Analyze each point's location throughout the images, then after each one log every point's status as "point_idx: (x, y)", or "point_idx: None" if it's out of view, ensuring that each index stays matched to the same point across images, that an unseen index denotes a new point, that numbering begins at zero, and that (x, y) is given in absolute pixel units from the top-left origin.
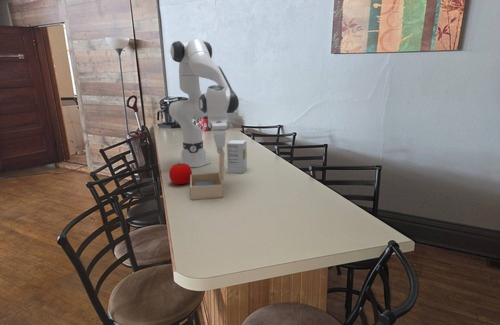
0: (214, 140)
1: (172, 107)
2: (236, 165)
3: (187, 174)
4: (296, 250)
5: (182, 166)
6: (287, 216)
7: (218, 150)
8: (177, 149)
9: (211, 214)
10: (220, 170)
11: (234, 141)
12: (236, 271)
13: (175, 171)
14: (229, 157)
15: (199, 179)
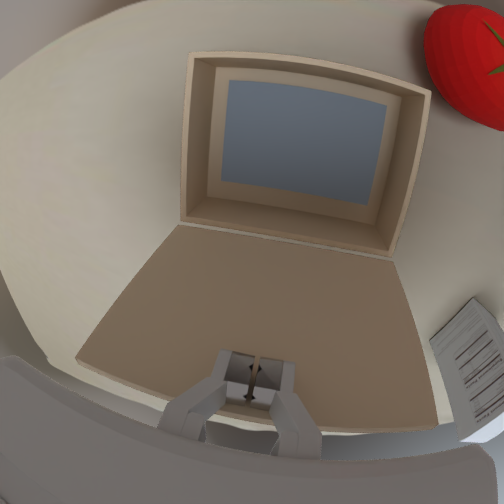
0: (357, 470)
1: None
2: (456, 345)
3: (444, 79)
4: (4, 261)
5: (492, 62)
6: (75, 306)
7: (212, 376)
8: None
9: (80, 139)
10: (309, 266)
11: None
12: None
13: (457, 14)
14: (491, 350)
15: (406, 137)
